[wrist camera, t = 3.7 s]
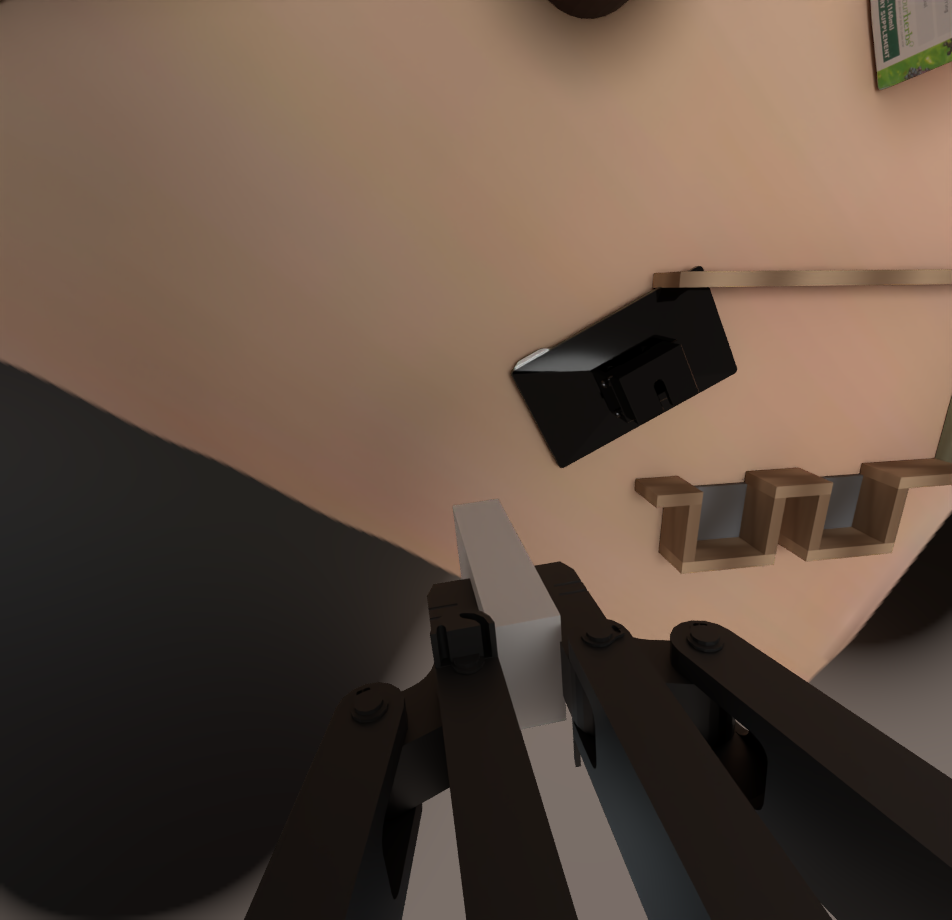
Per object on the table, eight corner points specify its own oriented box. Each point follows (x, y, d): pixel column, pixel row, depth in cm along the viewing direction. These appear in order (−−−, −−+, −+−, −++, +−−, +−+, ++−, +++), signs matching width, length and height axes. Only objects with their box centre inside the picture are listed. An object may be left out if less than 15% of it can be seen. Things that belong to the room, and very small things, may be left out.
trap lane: (628, 554, 36) (649, 576, 33) (653, 273, 31) (680, 271, 28) (927, 527, 40) (968, 545, 37) (999, 270, 34) (1054, 268, 31)
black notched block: (558, 467, 33) (581, 496, 29) (506, 366, 31) (522, 382, 26) (735, 370, 32) (785, 385, 28) (697, 259, 30) (746, 257, 25)
